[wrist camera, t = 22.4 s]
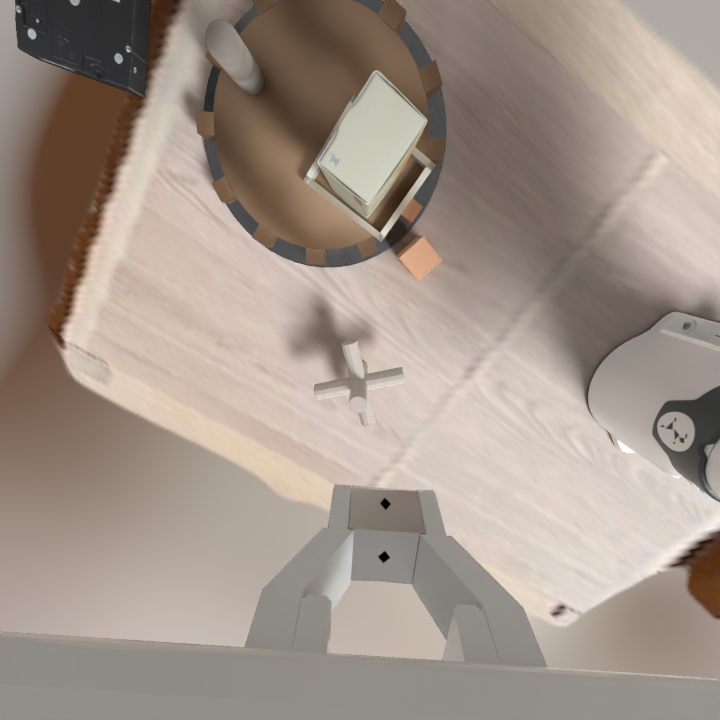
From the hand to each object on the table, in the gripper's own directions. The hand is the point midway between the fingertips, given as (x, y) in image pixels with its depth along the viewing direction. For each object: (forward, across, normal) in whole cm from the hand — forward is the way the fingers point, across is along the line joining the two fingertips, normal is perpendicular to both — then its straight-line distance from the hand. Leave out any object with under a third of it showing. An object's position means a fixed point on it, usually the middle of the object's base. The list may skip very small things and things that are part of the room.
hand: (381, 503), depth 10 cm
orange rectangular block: (+31, -4, -6) cm, 32 cm away
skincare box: (+28, +1, -13) cm, 31 cm away
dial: (+31, +6, -16) cm, 35 cm away
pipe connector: (+31, +1, +8) cm, 32 cm away
